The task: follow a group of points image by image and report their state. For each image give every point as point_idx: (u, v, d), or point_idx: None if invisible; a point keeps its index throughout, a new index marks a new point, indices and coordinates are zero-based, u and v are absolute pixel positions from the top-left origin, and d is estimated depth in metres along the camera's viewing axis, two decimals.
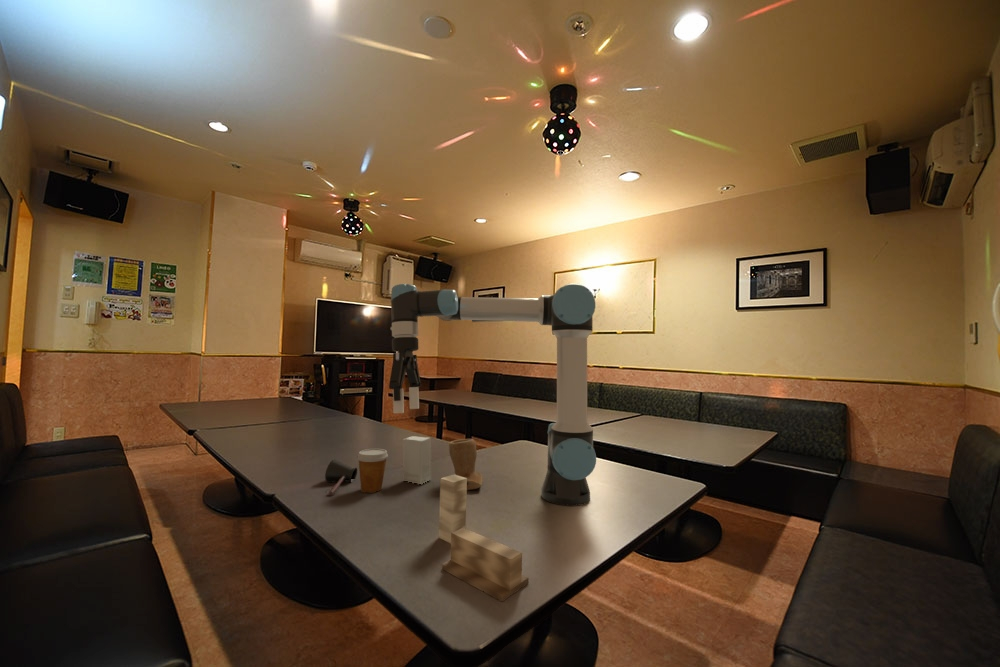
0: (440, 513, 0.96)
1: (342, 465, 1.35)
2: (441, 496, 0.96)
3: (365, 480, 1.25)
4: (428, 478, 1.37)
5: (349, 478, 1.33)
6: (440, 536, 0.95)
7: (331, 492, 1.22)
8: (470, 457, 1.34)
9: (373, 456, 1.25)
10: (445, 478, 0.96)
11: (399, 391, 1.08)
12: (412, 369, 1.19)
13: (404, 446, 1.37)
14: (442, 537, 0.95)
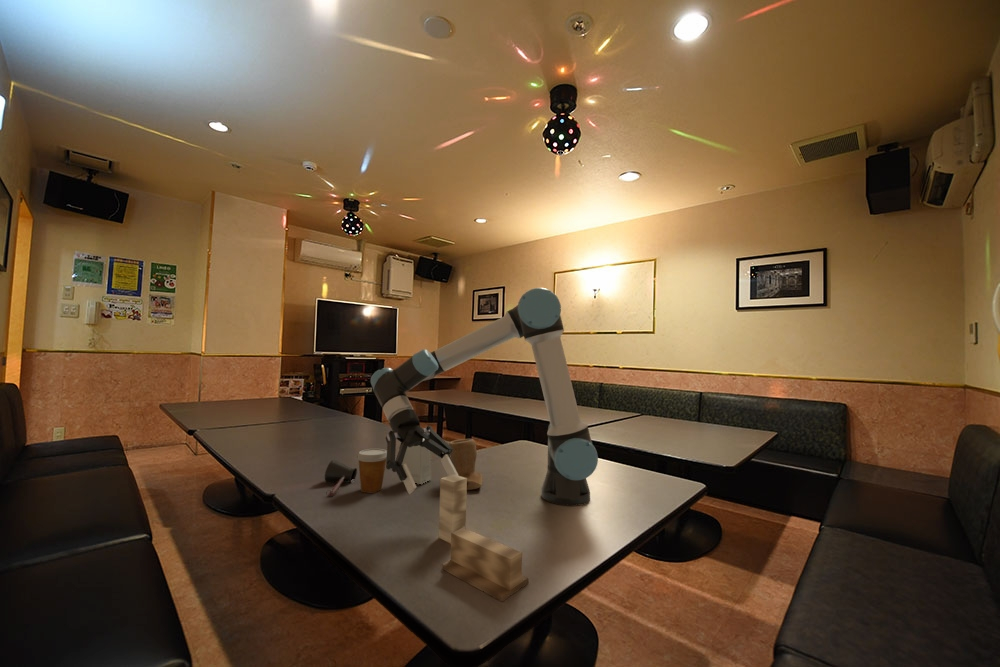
0: (440, 513, 0.96)
1: (342, 465, 1.34)
2: (441, 496, 0.96)
3: (365, 480, 1.25)
4: (428, 478, 1.37)
5: (349, 478, 1.33)
6: (440, 536, 0.95)
7: (332, 493, 1.21)
8: (470, 457, 1.34)
9: (373, 456, 1.25)
10: (445, 478, 0.96)
11: (401, 468, 0.96)
12: (426, 440, 1.08)
13: None
14: (442, 537, 0.95)
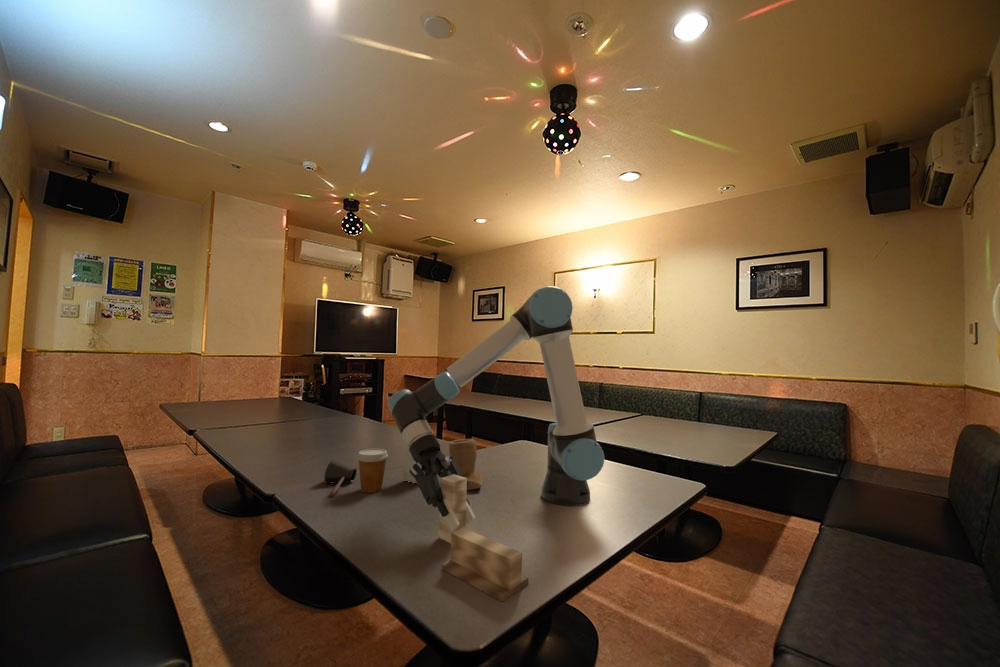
0: None
1: (341, 466, 1.34)
2: None
3: (365, 480, 1.25)
4: None
5: (349, 479, 1.32)
6: (440, 536, 0.95)
7: (332, 493, 1.21)
8: (470, 457, 1.34)
9: (373, 456, 1.25)
10: (445, 478, 0.96)
11: (442, 504, 0.93)
12: (444, 470, 1.01)
13: (404, 446, 1.37)
14: (442, 537, 0.95)
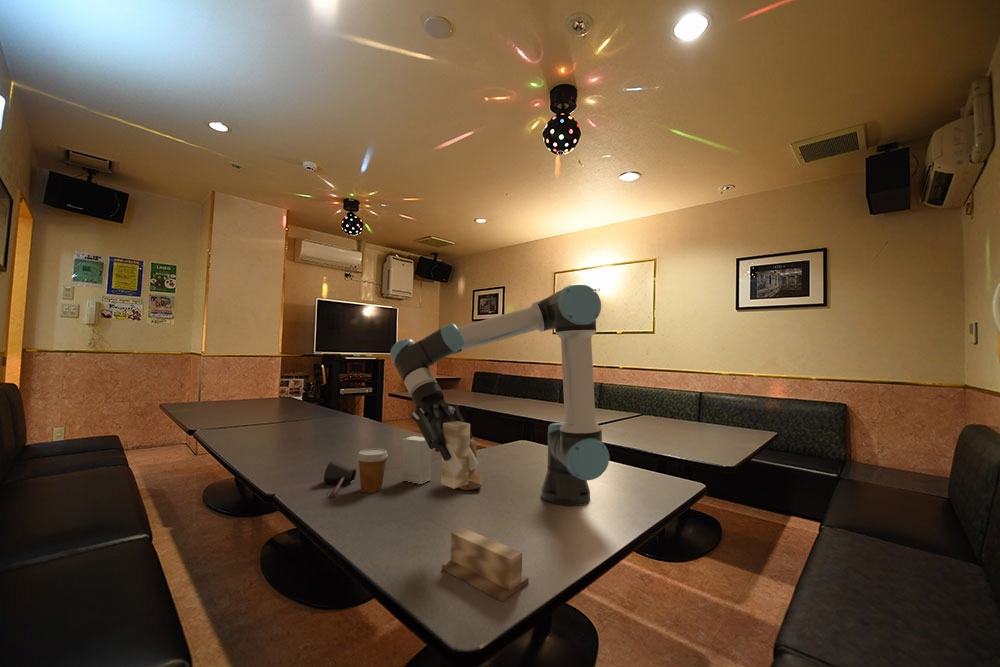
0: (442, 459, 0.93)
1: (341, 466, 1.33)
2: None
3: (365, 480, 1.25)
4: (428, 478, 1.37)
5: (349, 479, 1.32)
6: (442, 482, 0.92)
7: (333, 494, 1.20)
8: None
9: (373, 456, 1.25)
10: (448, 423, 0.93)
11: (444, 448, 0.91)
12: (447, 418, 0.98)
13: (404, 446, 1.37)
14: (444, 483, 0.92)
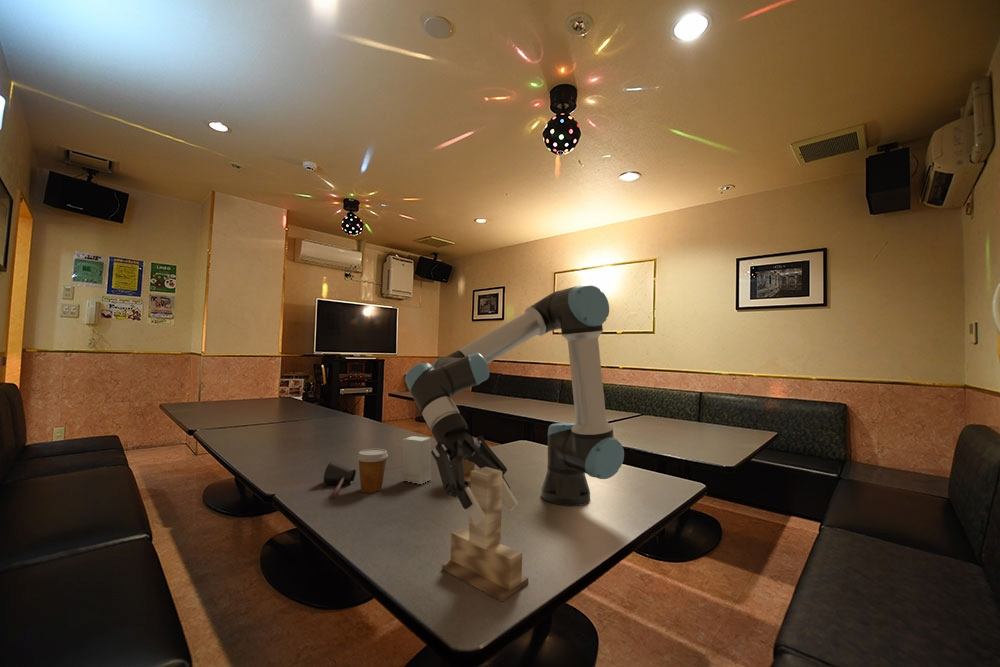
0: None
1: (341, 467, 1.33)
2: None
3: (365, 480, 1.25)
4: (428, 478, 1.37)
5: (348, 480, 1.31)
6: (471, 540, 0.79)
7: (334, 494, 1.20)
8: None
9: (373, 456, 1.25)
10: (476, 471, 0.80)
11: (464, 493, 0.76)
12: (476, 454, 0.86)
13: (404, 446, 1.37)
14: (473, 542, 0.79)
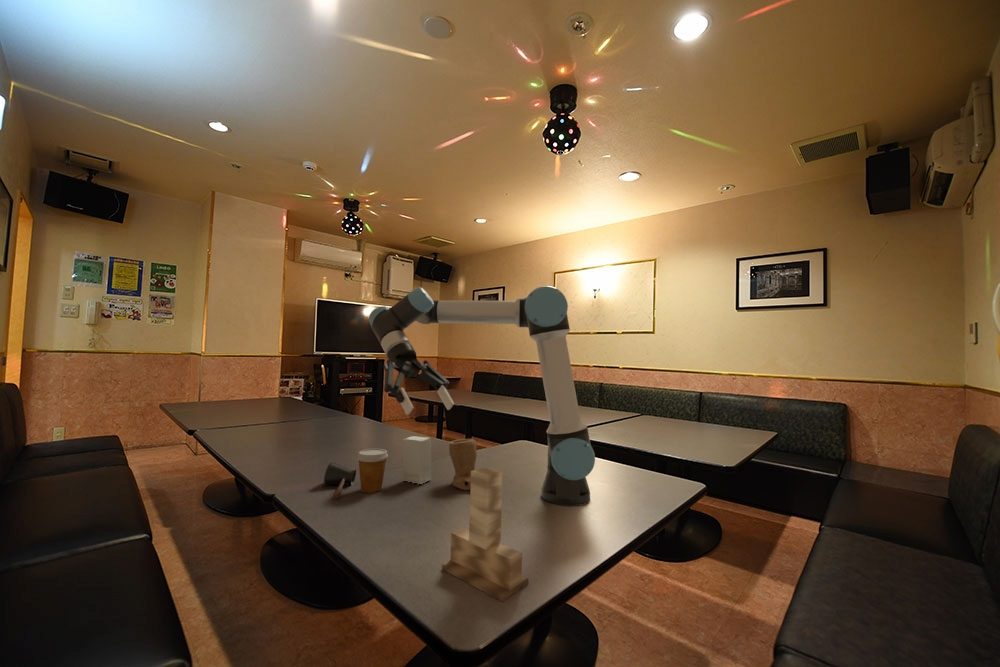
0: (471, 513, 0.80)
1: (341, 468, 1.32)
2: (471, 492, 0.80)
3: (365, 480, 1.25)
4: (428, 478, 1.37)
5: (349, 480, 1.31)
6: (471, 540, 0.79)
7: (336, 495, 1.19)
8: (470, 457, 1.34)
9: (373, 456, 1.25)
10: (476, 471, 0.80)
11: (398, 391, 1.00)
12: (423, 372, 1.11)
13: (404, 446, 1.37)
14: (473, 542, 0.79)
